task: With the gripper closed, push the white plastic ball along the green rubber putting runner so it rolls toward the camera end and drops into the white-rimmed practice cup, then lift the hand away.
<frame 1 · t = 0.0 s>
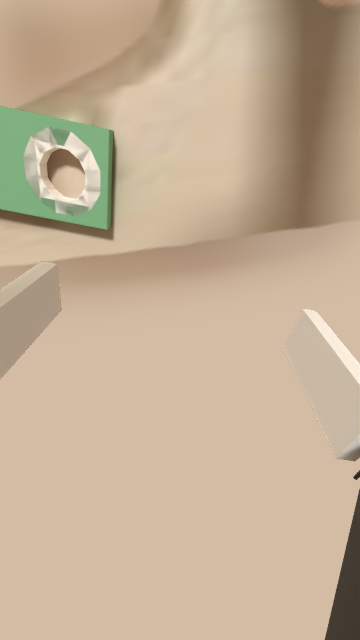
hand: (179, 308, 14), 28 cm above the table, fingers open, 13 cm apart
runner: (10, 162, 35), on the table
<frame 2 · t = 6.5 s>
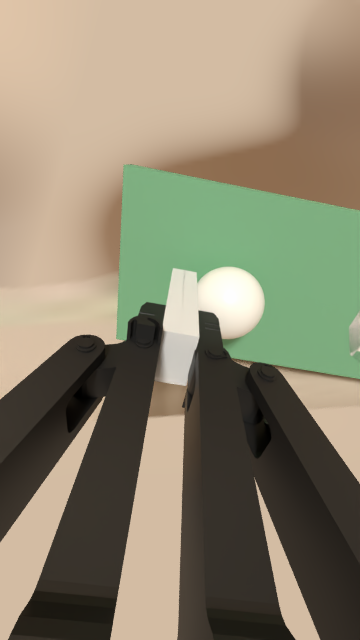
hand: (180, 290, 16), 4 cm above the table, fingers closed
runner: (307, 291, 19), on the table
ball: (226, 303, 15), point 4 cm above the table, tilted 28°, touching gripper, runner
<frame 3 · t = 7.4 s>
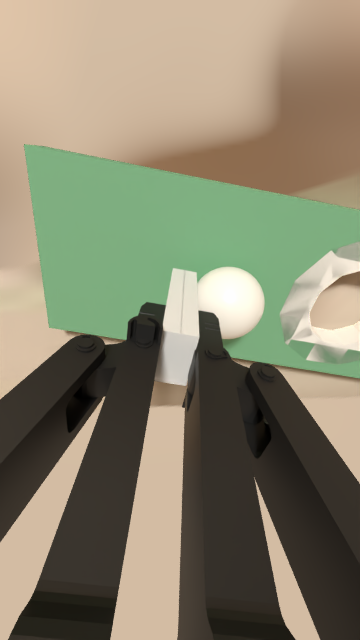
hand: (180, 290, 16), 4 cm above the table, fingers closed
runner: (240, 279, 19), on the table
ball: (226, 303, 15), point 4 cm above the table, tilted 141°, touching gripper, runner
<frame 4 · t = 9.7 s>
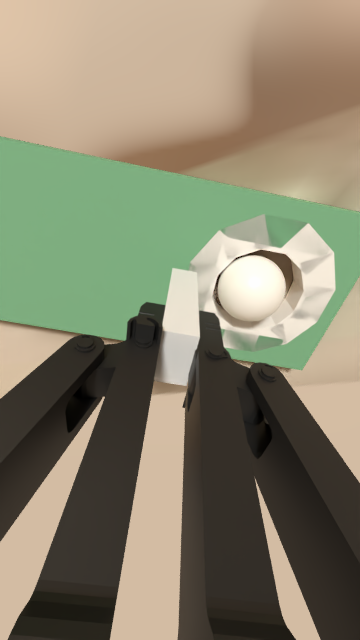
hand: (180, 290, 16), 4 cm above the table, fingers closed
runner: (146, 262, 18), on the table
ball: (250, 288, 17), point 2 cm above the table, tilted 20°
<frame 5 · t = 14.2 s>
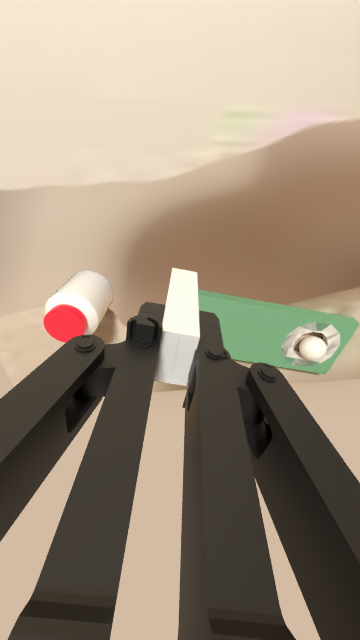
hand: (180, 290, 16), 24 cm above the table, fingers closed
runner: (264, 331, 46), on the table
pill bottle: (91, 291, 44), on the table
ball: (312, 348, 45), point 2 cm above the table, tilted 48°
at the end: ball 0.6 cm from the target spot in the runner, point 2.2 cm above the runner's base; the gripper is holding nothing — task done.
